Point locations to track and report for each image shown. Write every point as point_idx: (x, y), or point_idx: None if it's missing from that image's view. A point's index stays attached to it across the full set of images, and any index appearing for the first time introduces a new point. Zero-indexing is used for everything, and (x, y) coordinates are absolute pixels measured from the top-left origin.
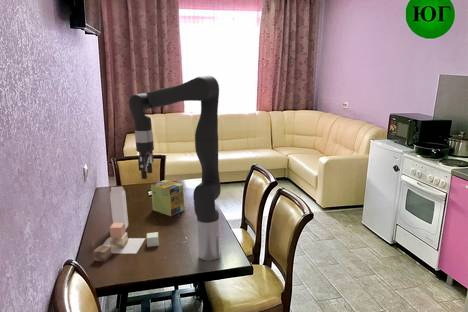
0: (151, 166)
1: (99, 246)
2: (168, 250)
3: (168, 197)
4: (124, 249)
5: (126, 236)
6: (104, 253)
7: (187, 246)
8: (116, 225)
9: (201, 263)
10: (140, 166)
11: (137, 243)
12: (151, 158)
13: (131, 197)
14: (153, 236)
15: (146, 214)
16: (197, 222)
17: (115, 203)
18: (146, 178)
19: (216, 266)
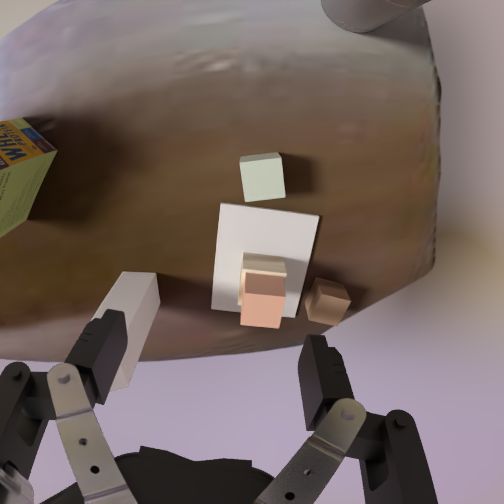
0: (97, 360)
1: (314, 320)
2: (307, 119)
3: (13, 171)
4: (288, 253)
5: (251, 264)
6: (349, 298)
7: (287, 59)
8: (265, 312)
9: (392, 33)
10: (369, 473)
11: (254, 222)
12: (86, 457)
13: None
14: (275, 174)
15: (51, 232)
16: (418, 2)
17: (133, 351)
18: (324, 336)
19: None
